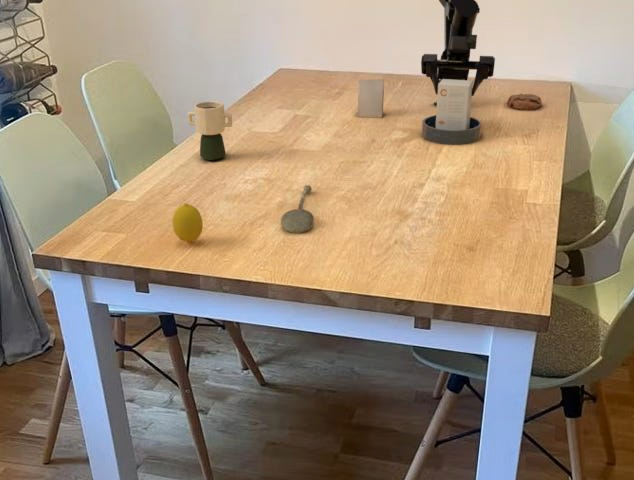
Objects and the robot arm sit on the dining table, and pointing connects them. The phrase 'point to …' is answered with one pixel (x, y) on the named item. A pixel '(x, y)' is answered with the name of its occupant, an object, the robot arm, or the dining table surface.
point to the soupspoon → (298, 217)
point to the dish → (450, 132)
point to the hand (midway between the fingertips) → (454, 94)
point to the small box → (454, 104)
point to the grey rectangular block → (370, 98)
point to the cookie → (524, 101)
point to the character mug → (210, 128)
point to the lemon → (187, 223)
